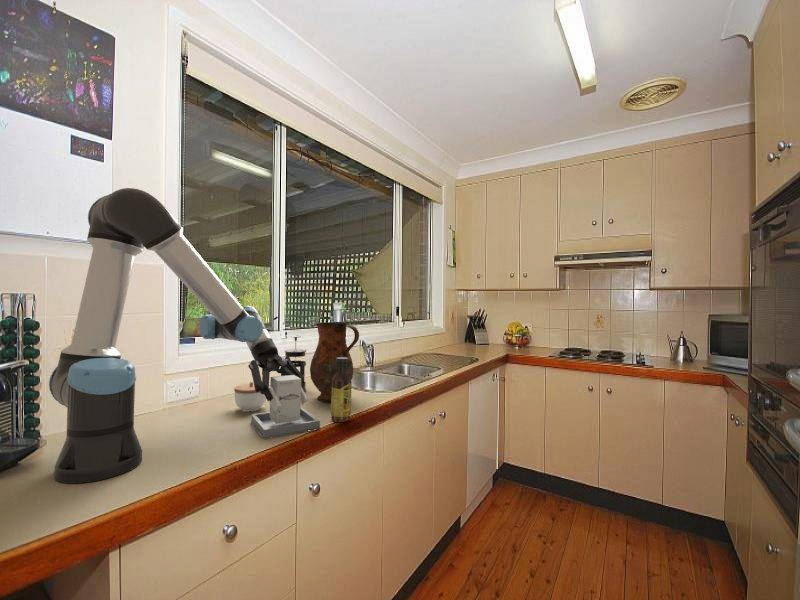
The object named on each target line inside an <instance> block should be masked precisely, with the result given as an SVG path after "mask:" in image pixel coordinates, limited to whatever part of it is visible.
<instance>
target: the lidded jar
mask: <svg viewBox="0 0 800 600" xmlns="http://www.w3.org/2000/svg"><path fill="white" fill-rule="evenodd" d="M233 391H234V401H235V404H236V406H237V407H238V408H239V409H240V411H241V410H242V411H241V412H245V411H248V412H247V413H249V411H251V412H257V411H259V410H260V409H261V408H262V407H263V406H264V405H265V403H266V401H267V399H266V397H265V395H264V394H261V393H260V392H261V391H259V392H256V391H255V387H254V382H253V381H249V383H245V384H240V385H236V386H235V387H234V389H233ZM256 410H257V411H256Z"/></svg>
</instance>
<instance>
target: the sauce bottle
mask: <svg viewBox="0 0 800 600" xmlns="http://www.w3.org/2000/svg"><path fill="white" fill-rule="evenodd" d="M336 363H337V369H336V371H337V372H336V374H335V375H334V377H333V380H332V398H331V403H330V415H331V416H330V417H331V421H332V422H334V423H345V422H348V421H350V419H351V415H352V388H353V387H352V380H351V379H350V376H349V373H348V363H349V358H347V357H339V358H336Z"/></svg>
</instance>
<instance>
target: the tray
mask: <svg viewBox="0 0 800 600" xmlns="http://www.w3.org/2000/svg"><path fill="white" fill-rule="evenodd" d="M269 415H270V411H267V412H260V413H252V414H250V417H251V418H250V423H251V424H252V425H253V427H254V428H255V429H256V431H257V432H258V433H259V434H260V436H261V437H262V438H263V440H267V439H272V438H271V437H273V438H277V436H278V437H283V436H282V435H284V436H289V434H290V435H295V434H300V433H299V432H301V433H305V432H304V431H307V432H309V431H308V430H312V431H315V430H314V429H318V430H321V420H320V419H319V418H317V417H316V416H314V415H313V414H312V413H310V412H309V411H308V410H306V409H305V408H303V407H300V420H298V421H289V422H283V423H278V424H276V423H275V422H274V421H273V420H272V419H271V418H270V417H269ZM294 433H295V434H294ZM266 438H267V439H266Z"/></svg>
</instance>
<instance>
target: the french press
mask: <svg viewBox="0 0 800 600" xmlns="http://www.w3.org/2000/svg"><path fill="white" fill-rule="evenodd" d="M301 337H302V336H300V335H292V336H290V338H293V339H294V348H290V349H285V350H284V352H285V357H286V356H289V357H290V358H294V360H291V362H292V363H293V364H294V365H295V367H296V368H299V372H300V373H301V374H302V375H303V376H304V378H305V377H306V374H305V372H306V371H305V367H306V366H307V361H306V360H305V361H304V360H297V358H302V357H305V356H306V352H307V349H300V348H297V341H298V339H299V338H301ZM280 376H283V375H282V374H280ZM306 382H307V381H305V379H304V380H303V381H302V382H301V384H302V386H303V388H304V389H305V392H306V391H307V389H306V384H307V383H306Z"/></svg>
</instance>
